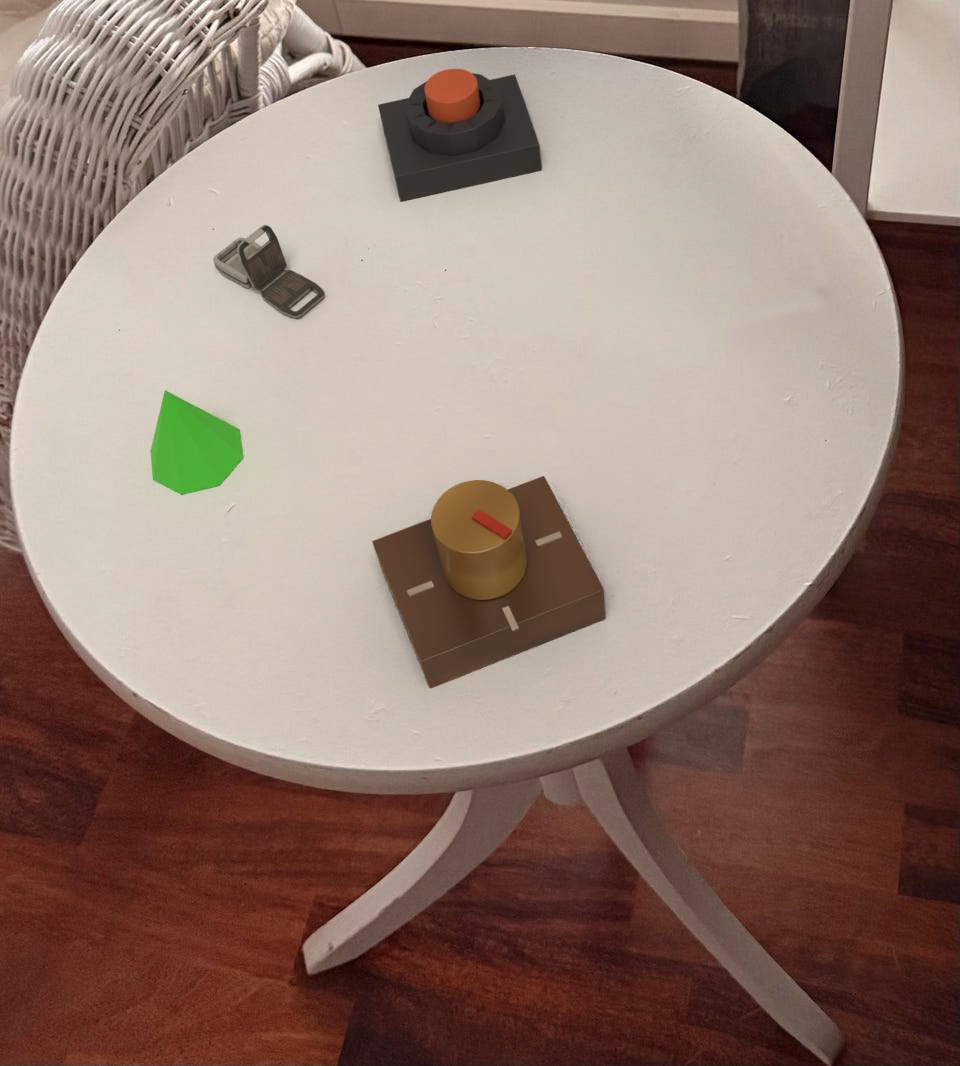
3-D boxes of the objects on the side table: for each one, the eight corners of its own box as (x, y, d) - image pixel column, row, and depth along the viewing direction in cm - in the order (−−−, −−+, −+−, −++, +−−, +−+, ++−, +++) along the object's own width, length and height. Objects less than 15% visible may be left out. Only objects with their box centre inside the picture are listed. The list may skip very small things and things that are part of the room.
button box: (517, 99, 90) (512, 51, 87) (542, 170, 86) (537, 122, 83) (383, 129, 90) (373, 82, 87) (400, 201, 86) (390, 155, 82)
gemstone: (262, 459, 74) (235, 394, 69) (175, 511, 73) (140, 449, 68) (217, 399, 77) (187, 333, 73) (131, 448, 76) (95, 384, 71)
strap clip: (211, 269, 84) (192, 221, 81) (244, 242, 85) (226, 194, 82) (296, 324, 80) (280, 276, 77) (329, 296, 81) (314, 248, 78)
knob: (426, 572, 65) (411, 520, 61) (479, 515, 67) (468, 461, 63) (490, 615, 63) (480, 565, 59) (544, 556, 65) (537, 503, 61)
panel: (545, 502, 70) (541, 469, 68) (608, 623, 66) (606, 592, 63) (380, 566, 69) (369, 534, 67) (431, 693, 65) (422, 665, 62)
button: (474, 85, 86) (471, 63, 85) (484, 117, 84) (481, 95, 83) (423, 96, 86) (420, 74, 85) (432, 129, 84) (429, 107, 83)
